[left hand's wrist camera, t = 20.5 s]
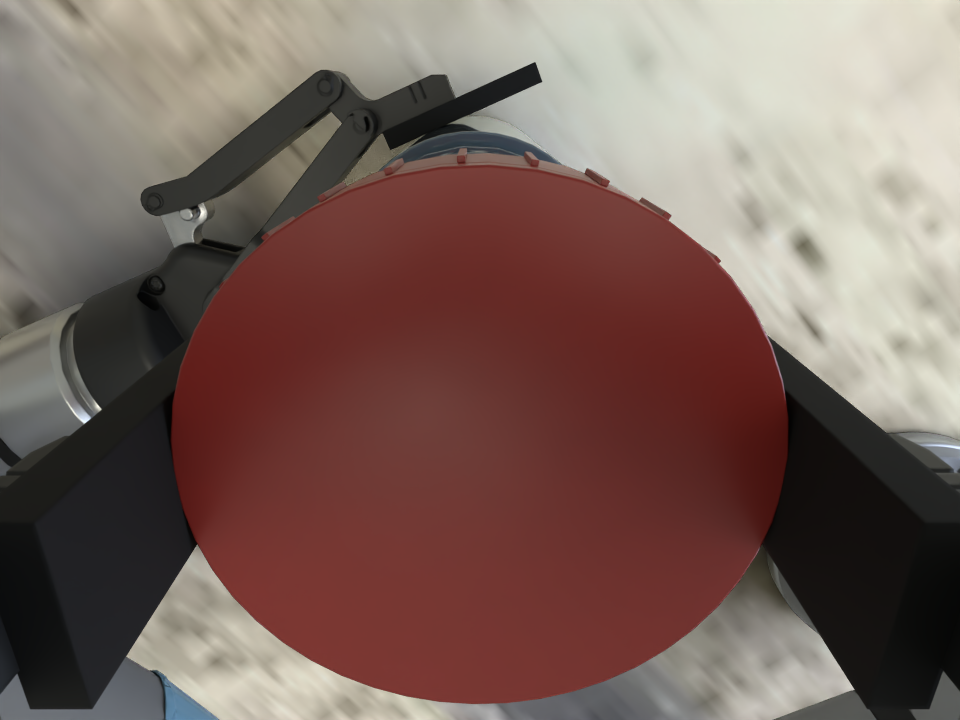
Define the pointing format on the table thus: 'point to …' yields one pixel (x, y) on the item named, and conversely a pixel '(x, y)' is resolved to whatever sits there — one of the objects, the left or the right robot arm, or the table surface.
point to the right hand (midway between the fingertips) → (573, 182)
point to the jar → (473, 141)
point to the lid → (479, 430)
